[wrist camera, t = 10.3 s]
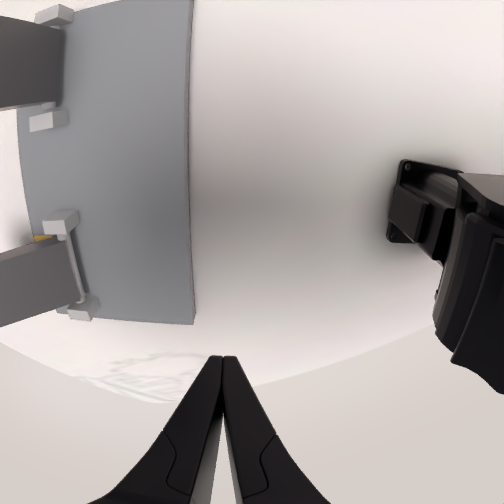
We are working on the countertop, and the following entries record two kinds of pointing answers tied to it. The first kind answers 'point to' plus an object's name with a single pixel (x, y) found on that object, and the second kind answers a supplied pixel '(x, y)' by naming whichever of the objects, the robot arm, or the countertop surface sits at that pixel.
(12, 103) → the switch
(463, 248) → the robot arm
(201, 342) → the countertop surface
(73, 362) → the countertop surface
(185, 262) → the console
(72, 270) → the switch
